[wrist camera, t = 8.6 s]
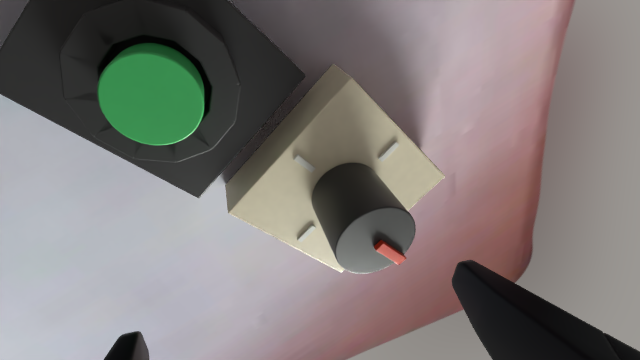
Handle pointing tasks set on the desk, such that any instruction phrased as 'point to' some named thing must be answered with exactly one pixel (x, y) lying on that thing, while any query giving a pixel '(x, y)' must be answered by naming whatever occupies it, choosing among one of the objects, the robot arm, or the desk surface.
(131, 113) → the power button
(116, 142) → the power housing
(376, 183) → the timer knob
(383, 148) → the panel
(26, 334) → the desk surface
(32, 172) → the desk surface
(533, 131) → the desk surface
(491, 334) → the robot arm
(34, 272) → the desk surface
